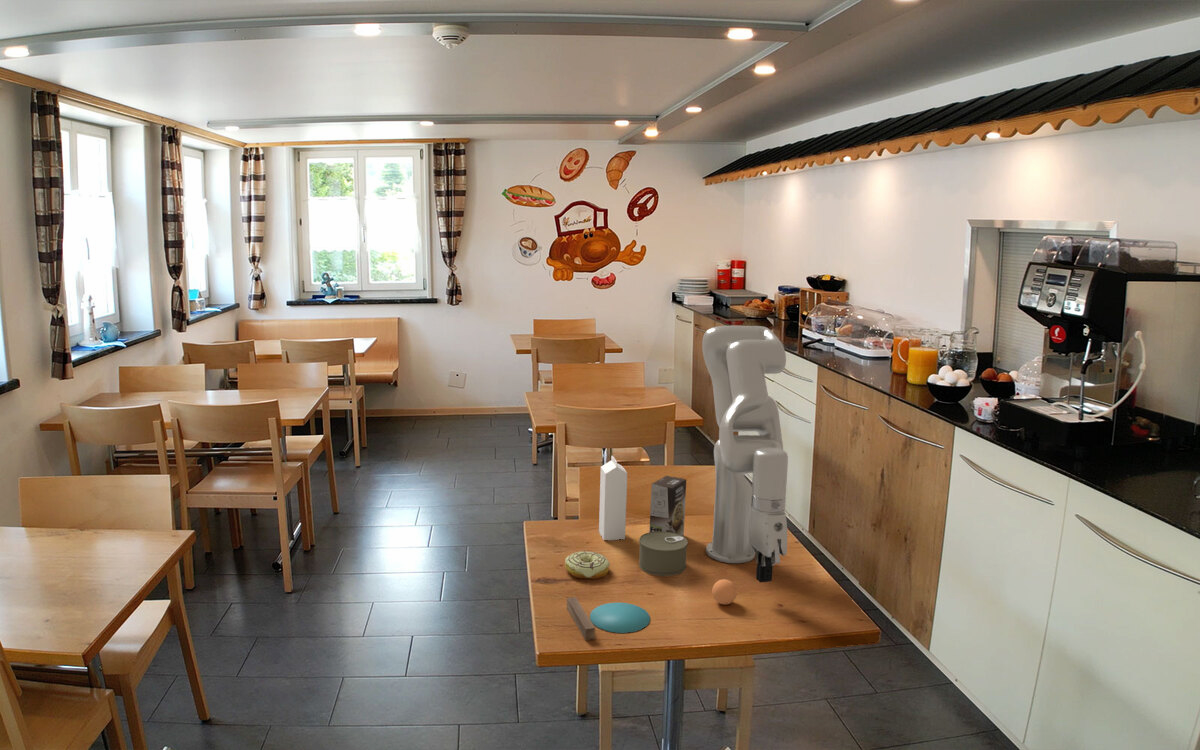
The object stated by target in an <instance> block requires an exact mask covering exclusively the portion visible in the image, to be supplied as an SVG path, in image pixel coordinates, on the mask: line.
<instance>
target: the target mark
mask: <svg viewBox="0 0 1200 750" xmlns="http://www.w3.org/2000/svg"><path fill="white" fill-rule="evenodd" d="M589 619H590V621H591V622H592V624H593V625H594V627H595V628H598V629H600V630H602V629H603V630H602V631H605V630H606V631H605V632H609V633H614V632H615V633H616V634H629V633H628V632H630V633H634V632H639V631H640V630H643V629H644V627H645V628H646V627H647V626H648V625H649V624H650V622H651V617H650V614H649V613H648V611H647V610H646V609H644V608H642V607H640V606H639V605H636V604H632V603H627V602H610V603H609V602H608V603H605V604H601V605H598V606H596V607H595V608H594V609H592V610H591V612H590V614H589ZM642 628H643V629H642ZM638 630H639V631H638Z"/></svg>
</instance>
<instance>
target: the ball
mask: <svg viewBox="0 0 1200 750" xmlns="http://www.w3.org/2000/svg"><path fill="white" fill-rule="evenodd" d="M711 591H712V597H713V599H714V600H715V601H716V602H717V603H718V604H721V605H729V604H730V605H731V603H733V602H734V601H735V600H736V598H737V595H738V590H737V587H736V585H735V583H734V582H733V581H731V580H729V579H725V578H723V579H719V580H718V581H716V582H715V583H714V584H713V586H712V589H711Z"/></svg>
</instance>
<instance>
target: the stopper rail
mask: <svg viewBox="0 0 1200 750" xmlns="http://www.w3.org/2000/svg"><path fill="white" fill-rule="evenodd" d="M566 610H567V611H568V614H569V615H570V617H571V619H572V620H573V621H574V623H575V625H576V627H577V629H578V630H579V632H580V634H581V636H582V637H583V639H584V640H585V641H591V639H592V640H595V639H596V637H595V636H596V626H595V625H594V624H593V623H592V622H591V620H590V616H588V614H587V613H586V611H585V610H584V607H582V605H581V603H580V602H579V600H578V598H577V597H576V596H574V597H567V598H566Z"/></svg>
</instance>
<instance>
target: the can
mask: <svg viewBox="0 0 1200 750" xmlns="http://www.w3.org/2000/svg"><path fill="white" fill-rule="evenodd" d="M638 541H639V542H638V543H639V560H638V561H639V562H638V566H639V568H640V569H641V570H642V571H643V572H645V573H646V574H649V575H653V576H658V577H674V576H677V575H680V574H682V573H683V572H685V570H686V569H687V568H686V565H687V552H688V551H687V548H688V545H689V541H688V539H687V538H686V537H685V536H684V535H683V536H681V535H679V534H676V533H672V532H666V531H655V532H649V531H648V532H647V533H644V534H642V535H641V536H640V537H639V540H638Z"/></svg>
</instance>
